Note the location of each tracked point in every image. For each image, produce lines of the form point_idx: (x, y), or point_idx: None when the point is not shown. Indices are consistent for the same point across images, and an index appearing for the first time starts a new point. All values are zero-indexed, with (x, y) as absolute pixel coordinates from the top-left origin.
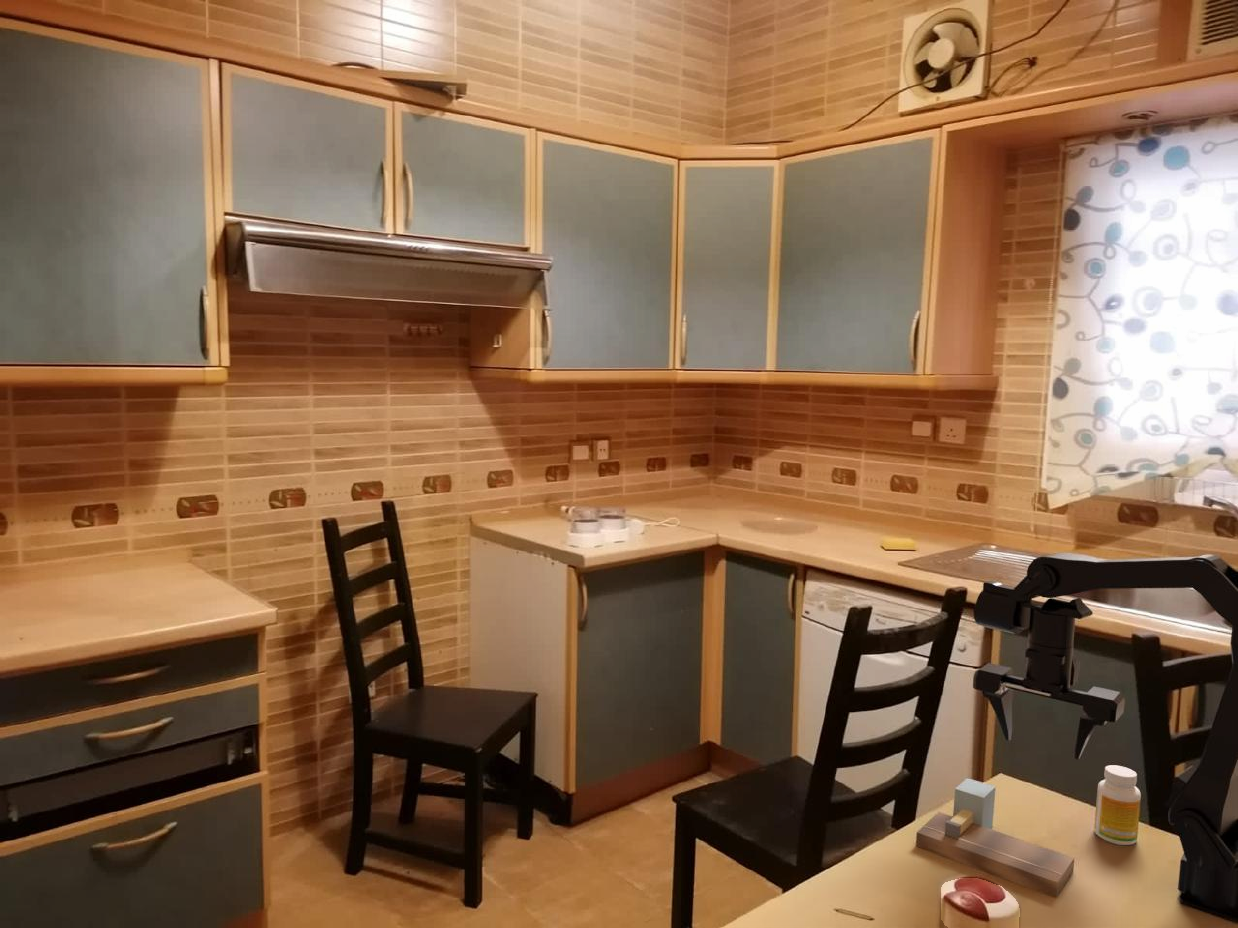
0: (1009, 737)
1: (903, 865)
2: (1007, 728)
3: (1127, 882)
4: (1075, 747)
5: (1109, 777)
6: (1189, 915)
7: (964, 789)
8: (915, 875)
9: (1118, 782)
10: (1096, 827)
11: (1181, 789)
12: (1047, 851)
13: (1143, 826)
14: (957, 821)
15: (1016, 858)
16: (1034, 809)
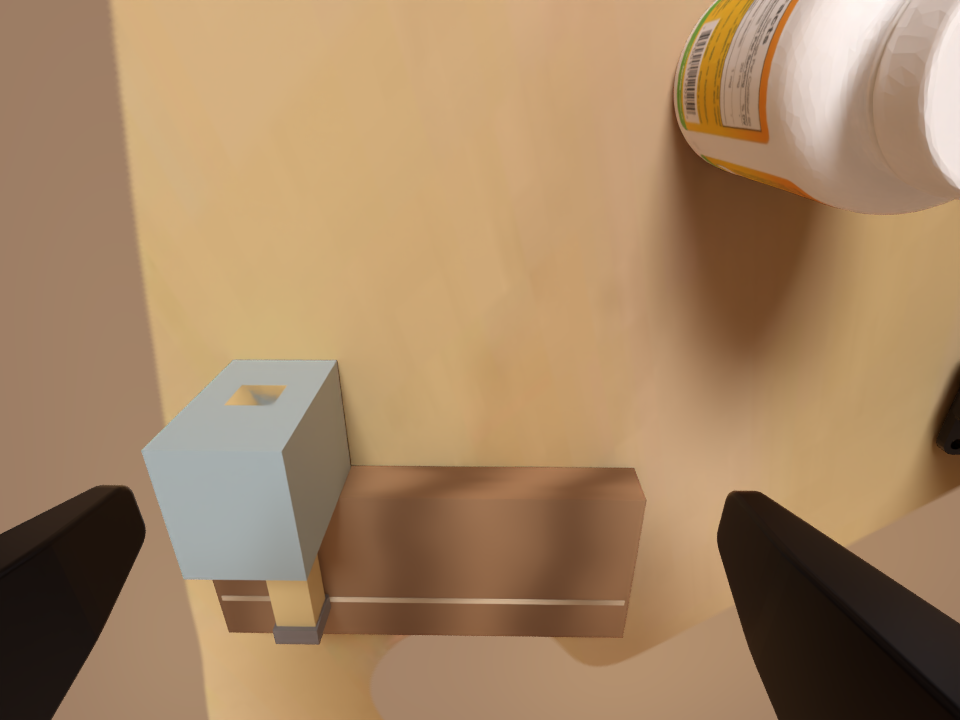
0: (126, 547)
1: (282, 671)
2: (63, 695)
3: (788, 423)
4: (771, 697)
5: (918, 184)
6: (944, 483)
7: (211, 561)
8: (325, 686)
9: None
10: (692, 138)
11: None
12: (565, 516)
13: None
14: (295, 609)
15: (500, 602)
16: (393, 61)
